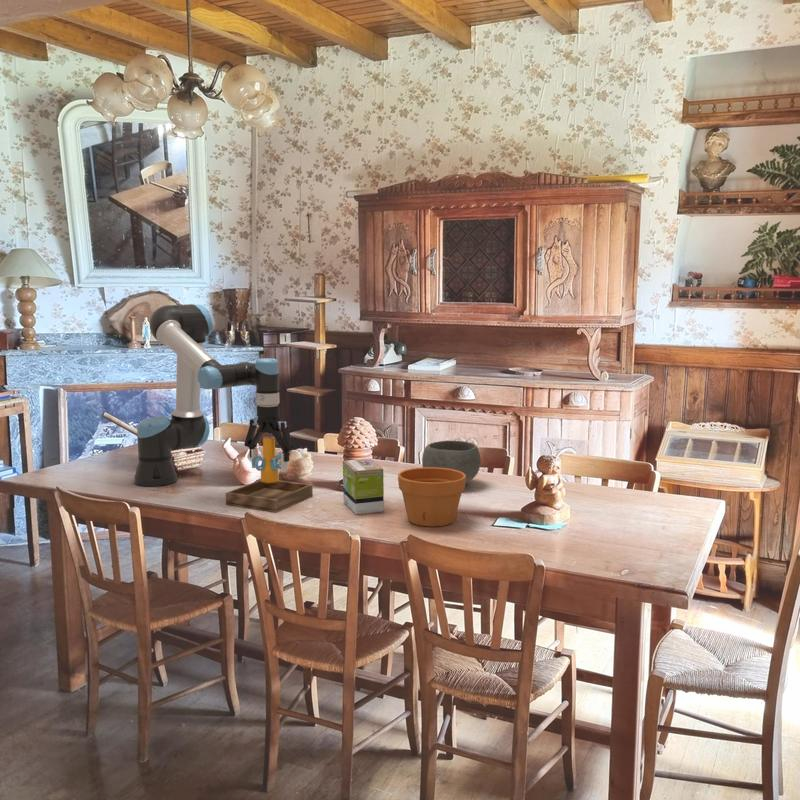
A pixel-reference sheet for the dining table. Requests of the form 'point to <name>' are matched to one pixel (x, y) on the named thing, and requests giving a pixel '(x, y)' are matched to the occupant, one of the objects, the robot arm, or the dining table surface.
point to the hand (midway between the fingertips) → (269, 469)
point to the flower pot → (431, 494)
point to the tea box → (363, 486)
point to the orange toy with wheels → (268, 462)
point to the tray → (269, 495)
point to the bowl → (453, 457)
